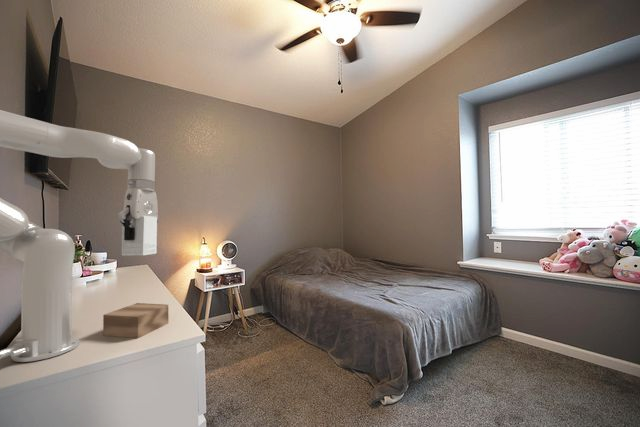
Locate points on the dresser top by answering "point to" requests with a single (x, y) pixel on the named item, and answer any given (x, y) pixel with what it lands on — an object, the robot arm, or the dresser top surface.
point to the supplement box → (141, 237)
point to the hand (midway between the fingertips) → (139, 239)
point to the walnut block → (135, 320)
